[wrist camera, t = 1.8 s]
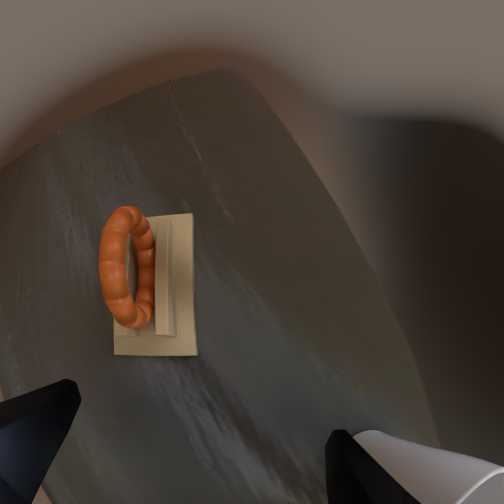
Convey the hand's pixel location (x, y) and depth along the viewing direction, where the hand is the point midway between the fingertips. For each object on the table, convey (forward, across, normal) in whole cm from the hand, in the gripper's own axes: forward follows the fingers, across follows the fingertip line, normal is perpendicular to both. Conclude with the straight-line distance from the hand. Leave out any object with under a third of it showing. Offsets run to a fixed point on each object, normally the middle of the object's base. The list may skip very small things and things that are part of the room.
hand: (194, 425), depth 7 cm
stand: (+15, +7, +2) cm, 17 cm away
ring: (+14, +7, +1) cm, 16 cm away
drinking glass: (+8, -13, +13) cm, 20 cm away
